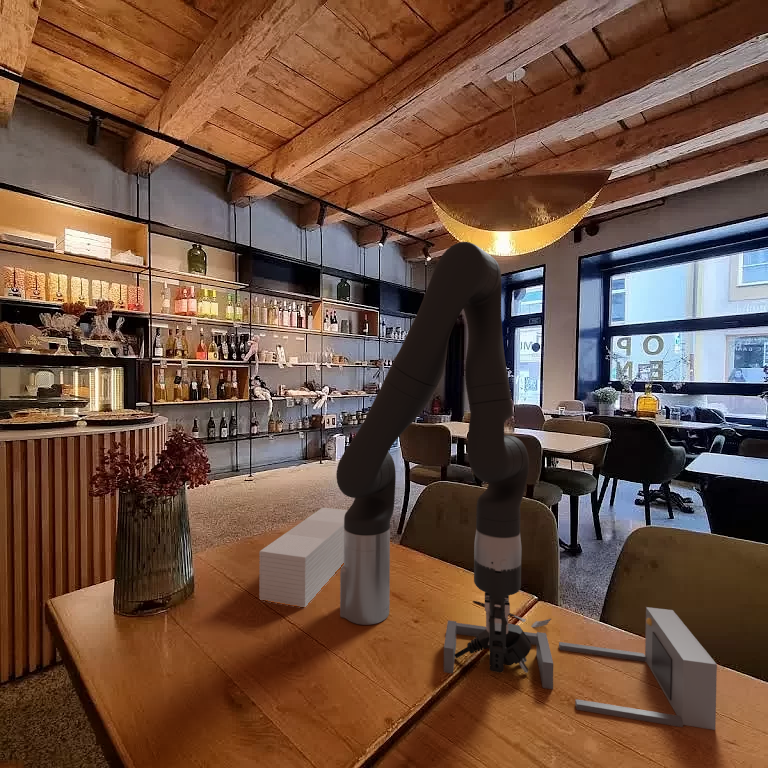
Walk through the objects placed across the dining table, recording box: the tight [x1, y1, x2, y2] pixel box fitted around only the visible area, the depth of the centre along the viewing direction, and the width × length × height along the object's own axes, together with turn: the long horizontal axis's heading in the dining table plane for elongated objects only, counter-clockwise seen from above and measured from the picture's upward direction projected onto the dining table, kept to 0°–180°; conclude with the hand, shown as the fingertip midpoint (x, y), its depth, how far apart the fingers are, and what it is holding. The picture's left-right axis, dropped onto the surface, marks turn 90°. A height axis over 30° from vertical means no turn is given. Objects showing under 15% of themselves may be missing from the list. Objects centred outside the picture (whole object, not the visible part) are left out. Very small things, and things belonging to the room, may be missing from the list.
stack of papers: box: [258, 507, 348, 608], centre depth 106 cm, size 32×11×11 cm, turn 164°
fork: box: [472, 600, 552, 629], centre depth 87 cm, size 3×16×2 cm, turn 51°
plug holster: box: [443, 620, 554, 690], centre depth 74 cm, size 17×12×4 cm
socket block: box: [558, 606, 718, 731], centre depth 68 cm, size 18×15×9 cm
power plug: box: [455, 622, 532, 673], centre depth 72 cm, size 6×8×12 cm
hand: (495, 658), depth 72 cm, fingers closed on power plug, 5 cm apart
